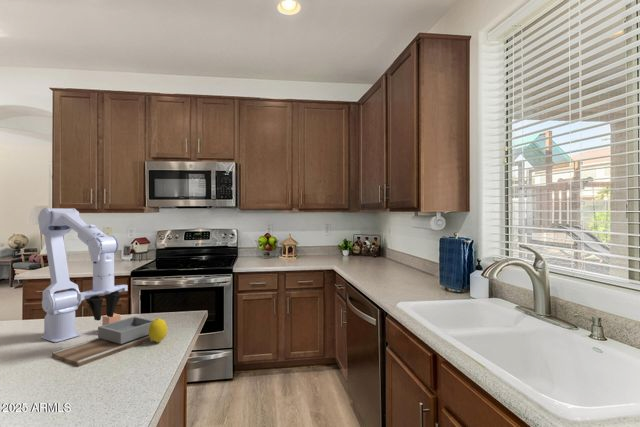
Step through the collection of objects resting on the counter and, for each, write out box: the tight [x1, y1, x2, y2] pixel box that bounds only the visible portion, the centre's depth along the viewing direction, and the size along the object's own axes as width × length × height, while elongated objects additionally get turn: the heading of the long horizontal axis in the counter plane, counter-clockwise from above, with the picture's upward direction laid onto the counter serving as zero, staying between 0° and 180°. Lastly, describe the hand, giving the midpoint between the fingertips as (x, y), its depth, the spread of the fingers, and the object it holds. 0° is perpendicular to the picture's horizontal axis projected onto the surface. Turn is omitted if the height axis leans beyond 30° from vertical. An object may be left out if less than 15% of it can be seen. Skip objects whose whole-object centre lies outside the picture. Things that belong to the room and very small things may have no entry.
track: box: [51, 334, 152, 367], centre depth 111 cm, size 14×27×4 cm, turn 152°
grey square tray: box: [97, 315, 155, 344], centre depth 116 cm, size 12×13×4 cm
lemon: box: [149, 317, 168, 344], centre depth 114 cm, size 6×6×8 cm
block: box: [101, 312, 121, 326], centre depth 124 cm, size 4×4×6 cm
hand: (103, 318), depth 109 cm, fingers open, 3 cm apart
